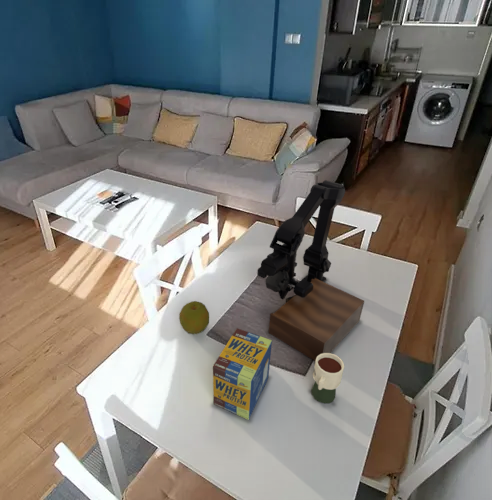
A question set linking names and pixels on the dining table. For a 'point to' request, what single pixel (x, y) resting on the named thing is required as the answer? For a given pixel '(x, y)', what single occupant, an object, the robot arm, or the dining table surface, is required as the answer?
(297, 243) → the robot arm
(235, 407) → the protein box
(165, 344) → the dining table surface
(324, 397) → the character mug
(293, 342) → the walnut wood chunk
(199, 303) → the apple
